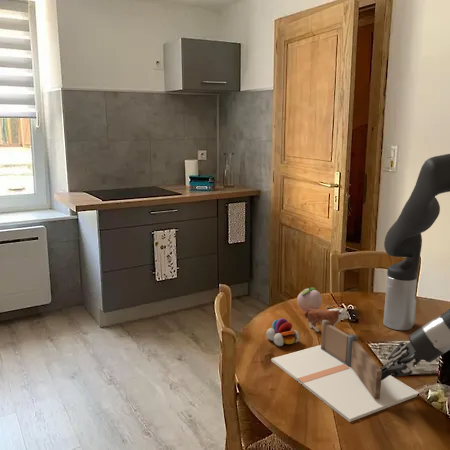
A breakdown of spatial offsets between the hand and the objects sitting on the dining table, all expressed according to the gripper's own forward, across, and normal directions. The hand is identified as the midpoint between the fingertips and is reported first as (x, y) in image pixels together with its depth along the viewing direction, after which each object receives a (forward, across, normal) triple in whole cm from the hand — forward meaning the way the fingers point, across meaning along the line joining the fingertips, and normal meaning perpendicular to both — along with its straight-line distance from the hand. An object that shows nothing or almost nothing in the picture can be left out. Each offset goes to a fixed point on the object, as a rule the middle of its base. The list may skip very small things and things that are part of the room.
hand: (376, 377), depth 119 cm
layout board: (+10, -6, -3) cm, 12 cm away
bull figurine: (+15, -34, -7) cm, 38 cm away
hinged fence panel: (+5, -3, 0) cm, 6 cm away
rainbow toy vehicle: (+23, -23, -16) cm, 36 cm away
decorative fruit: (+20, -47, -12) cm, 52 cm away
